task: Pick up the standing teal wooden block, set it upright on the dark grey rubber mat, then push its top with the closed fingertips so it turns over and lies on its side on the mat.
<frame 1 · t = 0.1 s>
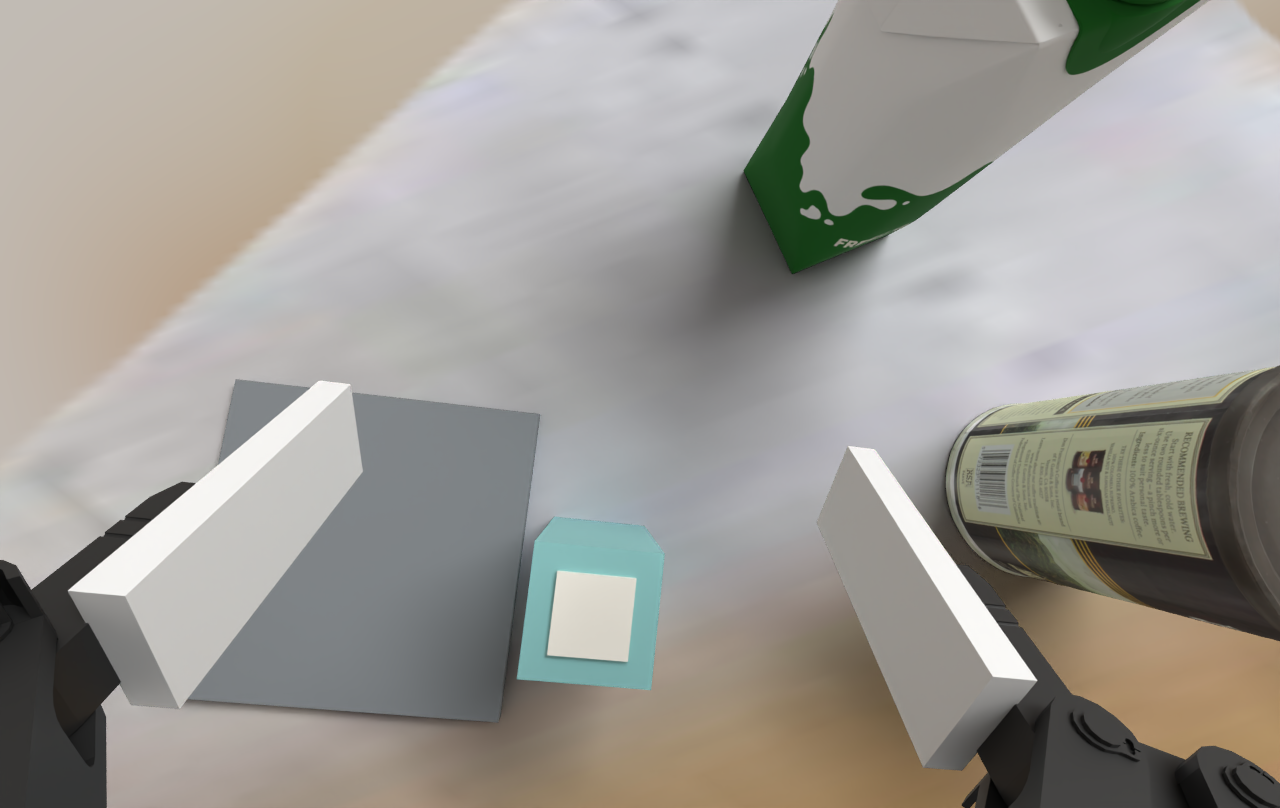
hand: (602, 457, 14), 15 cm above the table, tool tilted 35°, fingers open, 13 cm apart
coffee can: (1023, 487, 31), on the table
mat: (369, 546, 28), on the table
block: (594, 567, 29), on the table
milk carton: (815, 203, 32), on the table
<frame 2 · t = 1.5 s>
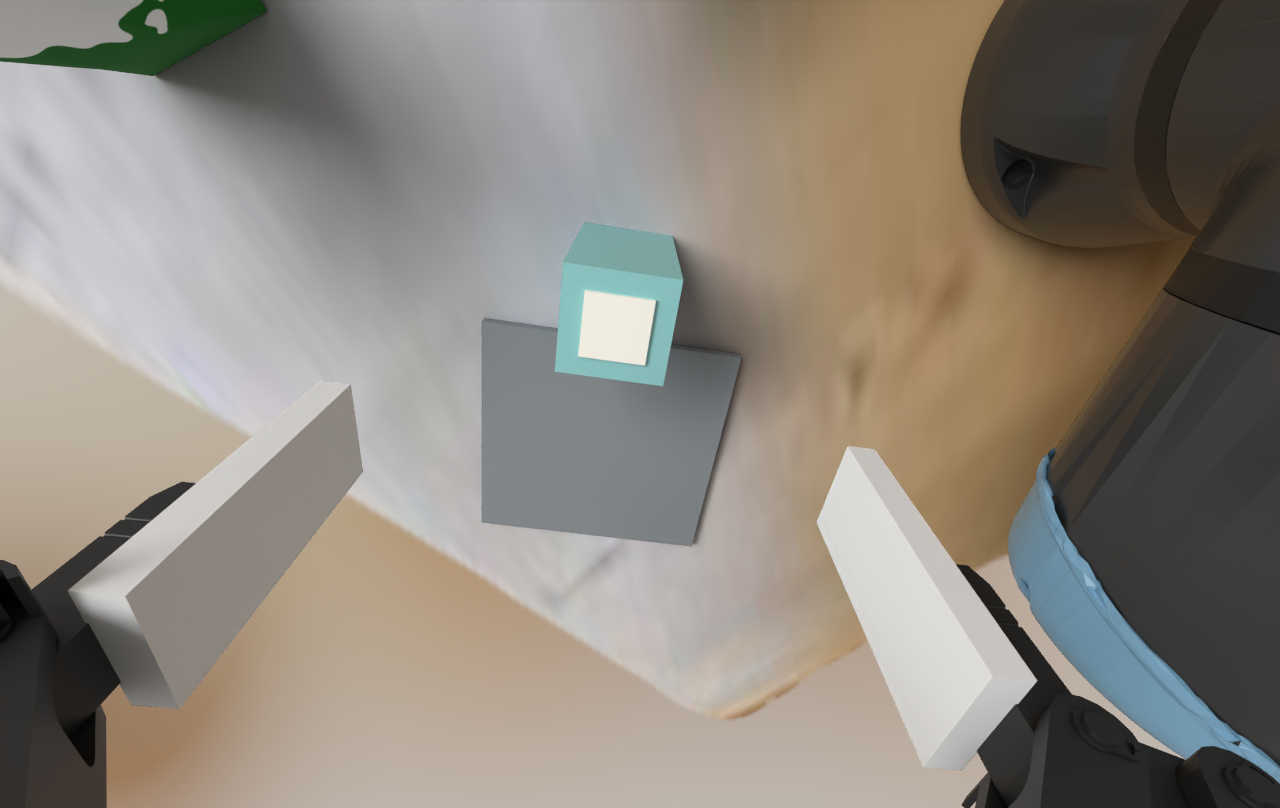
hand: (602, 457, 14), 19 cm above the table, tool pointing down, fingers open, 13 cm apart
mat: (600, 443, 36), on the table
block: (622, 272, 30), on the table
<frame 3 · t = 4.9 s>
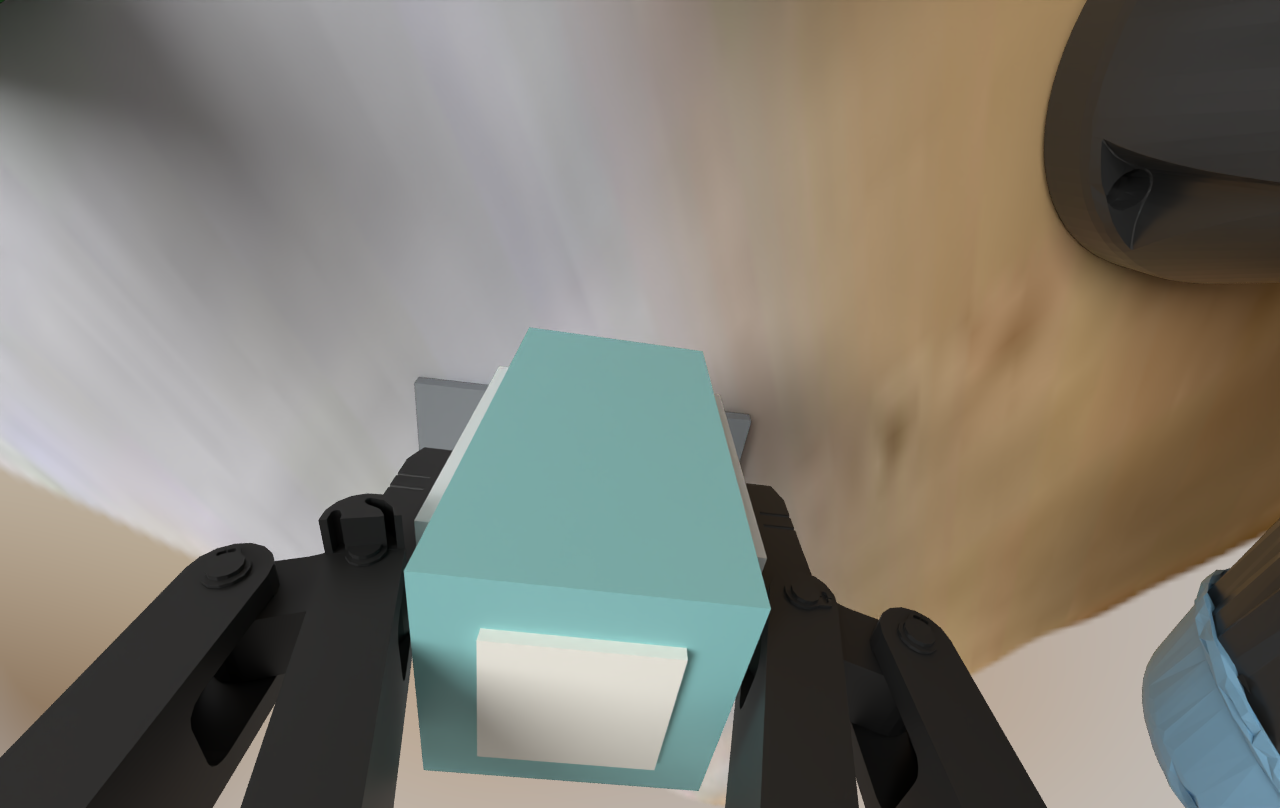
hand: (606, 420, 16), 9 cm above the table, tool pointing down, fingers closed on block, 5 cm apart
mat: (574, 521, 29), on the table
block: (606, 414, 16), point 8 cm above the table, touching gripper
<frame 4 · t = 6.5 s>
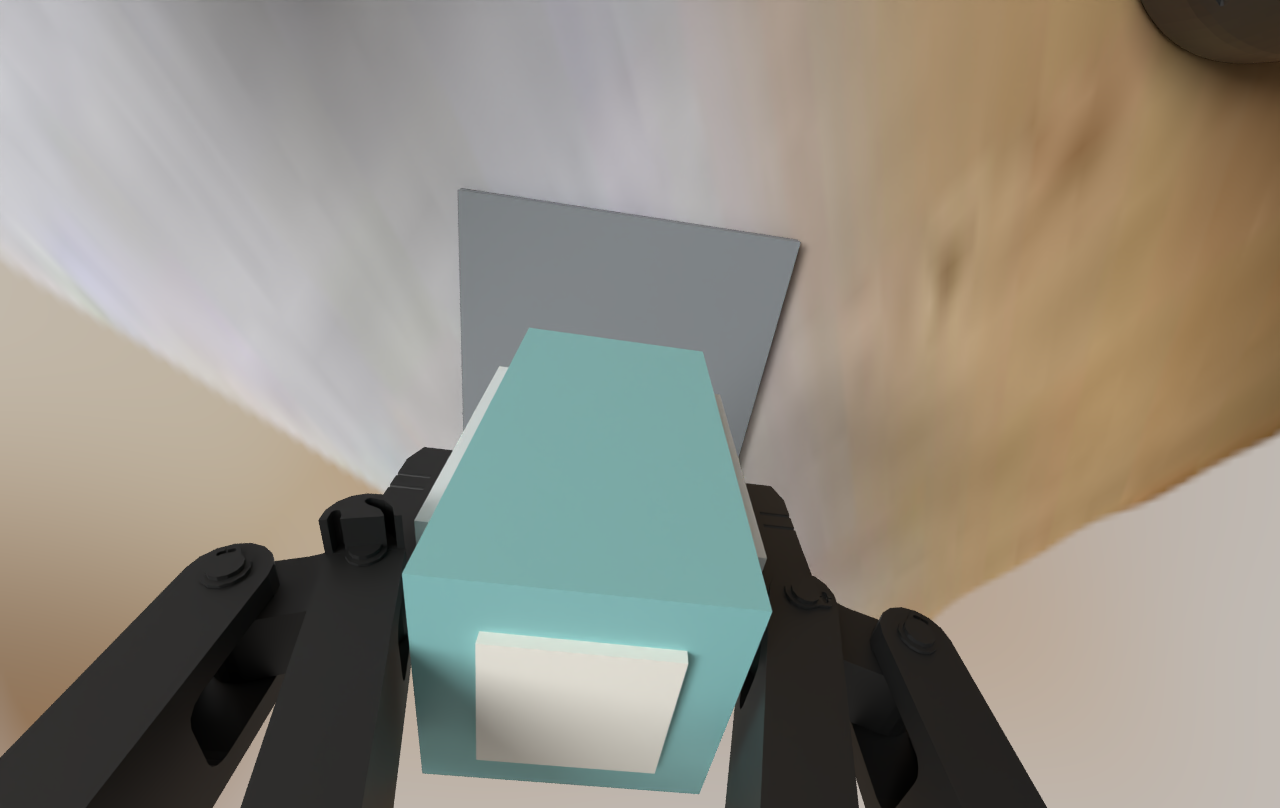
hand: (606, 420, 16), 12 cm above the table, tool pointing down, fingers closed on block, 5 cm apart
mat: (613, 366, 28), on the table
block: (606, 414, 16), point 12 cm above the table, touching gripper
when the fingers open (2 cm above the table, at t = 8.6 s): block stays where it is, resting on mat.
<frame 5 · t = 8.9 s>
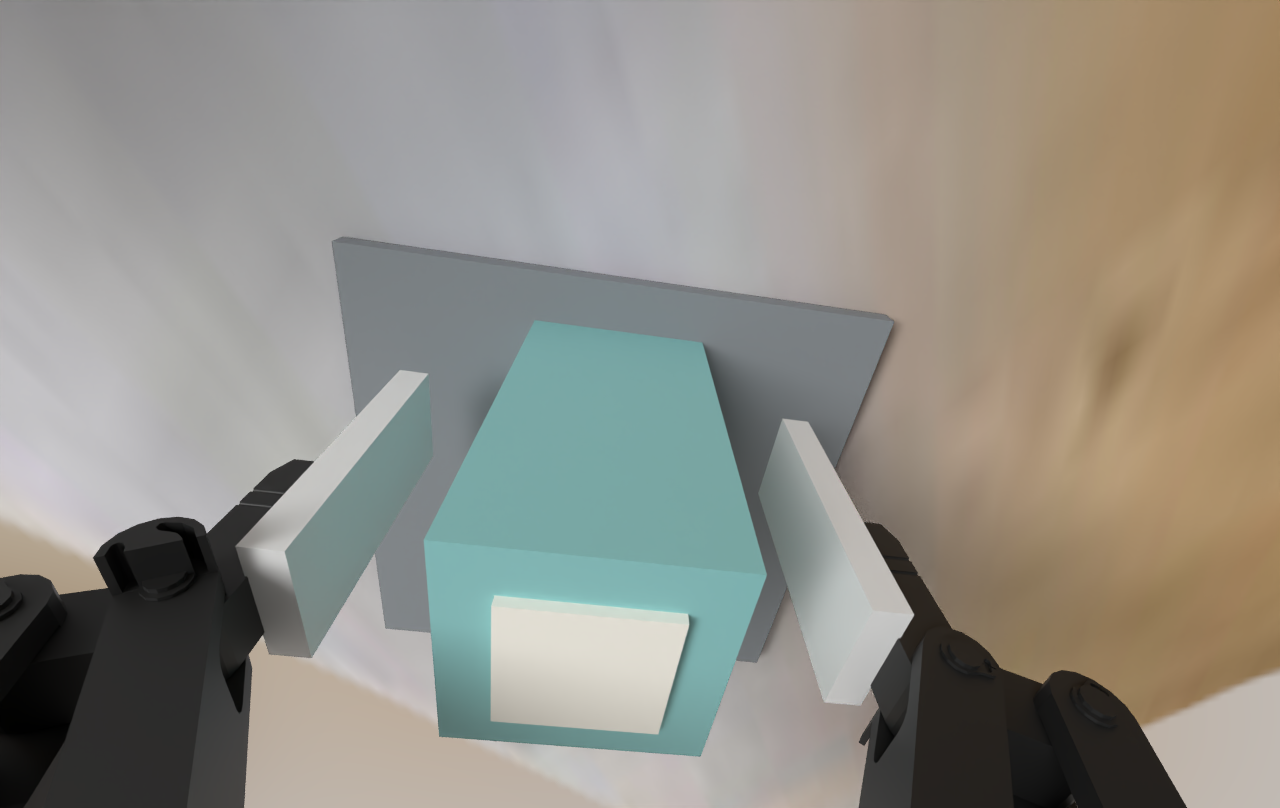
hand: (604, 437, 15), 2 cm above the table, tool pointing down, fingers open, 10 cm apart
mat: (596, 491, 19), on the table
block: (609, 404, 17), point 1 cm above the table, touching mat
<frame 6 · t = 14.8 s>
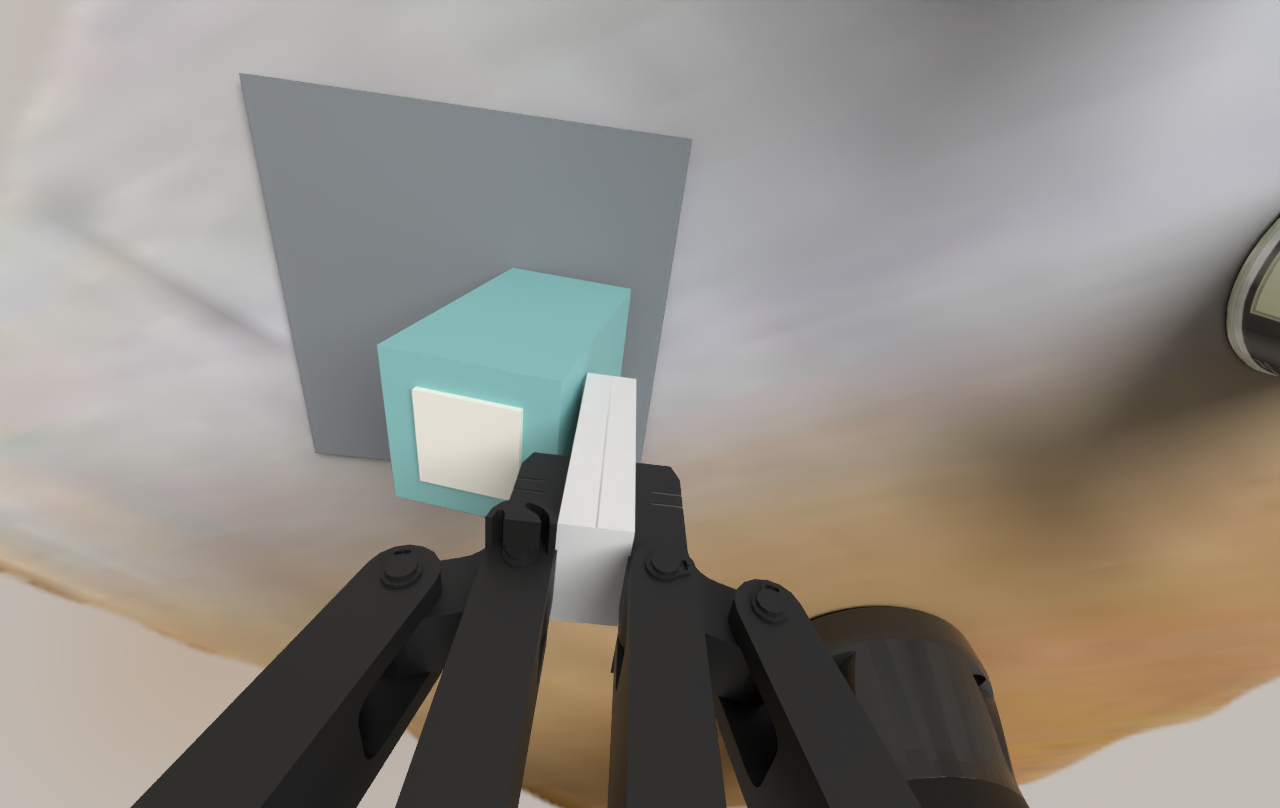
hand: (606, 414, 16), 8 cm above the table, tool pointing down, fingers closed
mat: (479, 314, 23), on the table
block: (567, 335, 22), point 1 cm above the table, tilted 11°, touching gripper, mat
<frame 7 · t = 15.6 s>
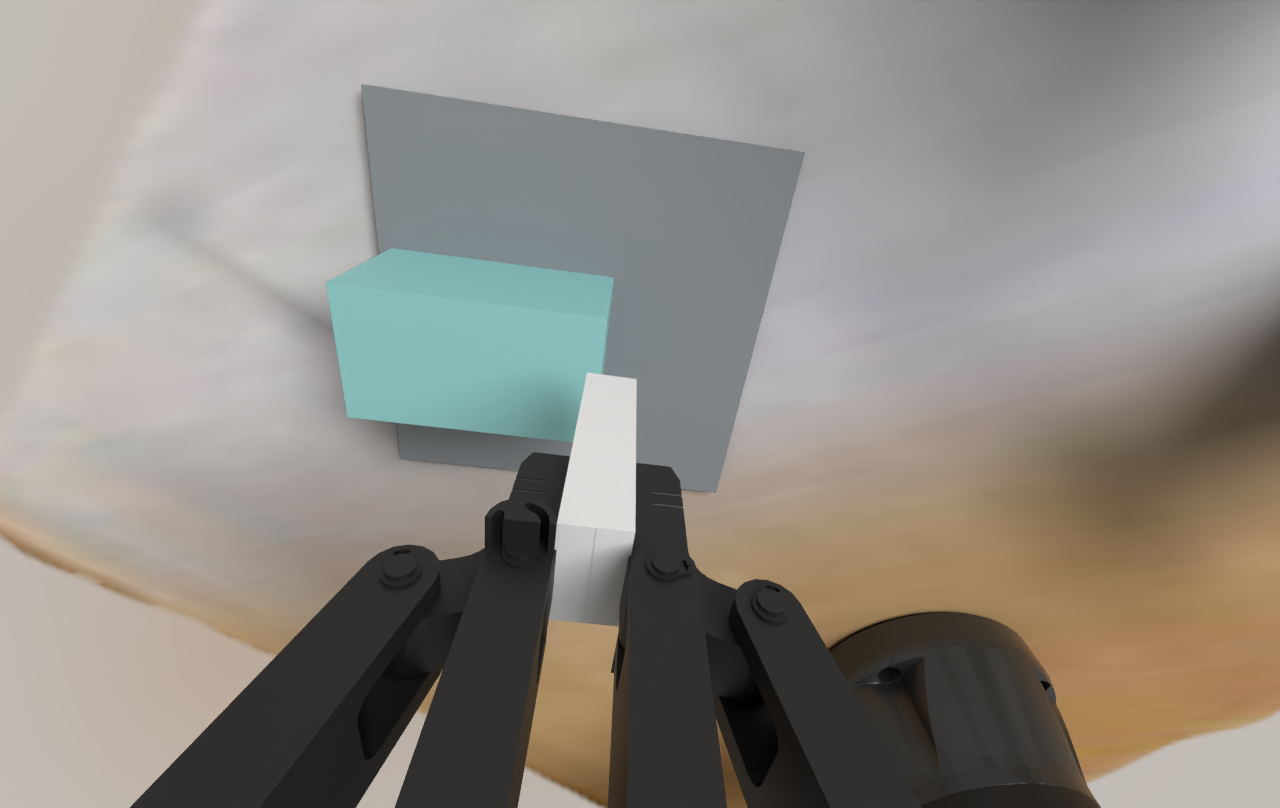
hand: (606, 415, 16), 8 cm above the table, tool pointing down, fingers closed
mat: (574, 323, 23), on the table
block: (604, 357, 21), point 3 cm above the table, tilted 90°, touching mat
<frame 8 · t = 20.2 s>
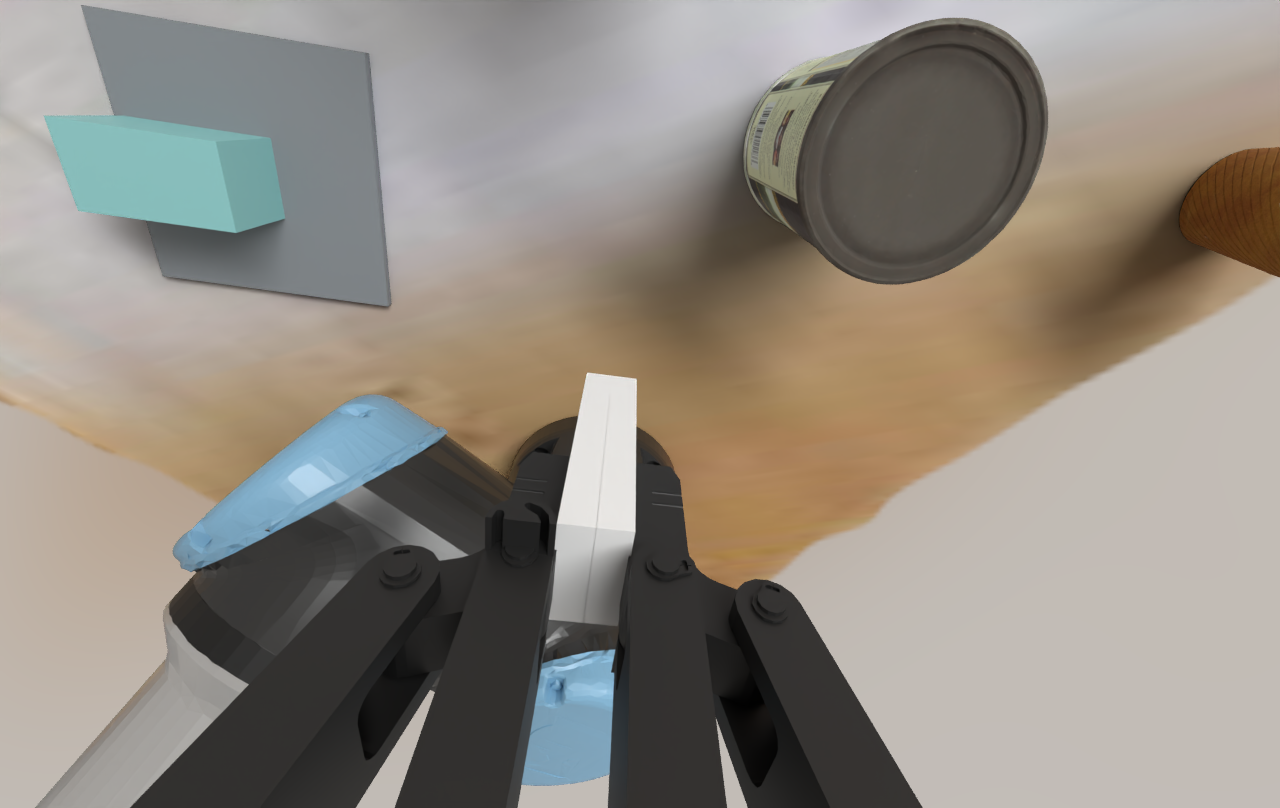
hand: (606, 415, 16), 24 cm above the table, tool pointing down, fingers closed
disposable coffee cup: (1226, 198, 36), on the table
coffee can: (819, 147, 35), on the table
mat: (259, 174, 35), on the table
block: (254, 184, 33), point 3 cm above the table, tilted 90°, touching mat
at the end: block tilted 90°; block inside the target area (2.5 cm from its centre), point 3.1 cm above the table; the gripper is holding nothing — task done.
